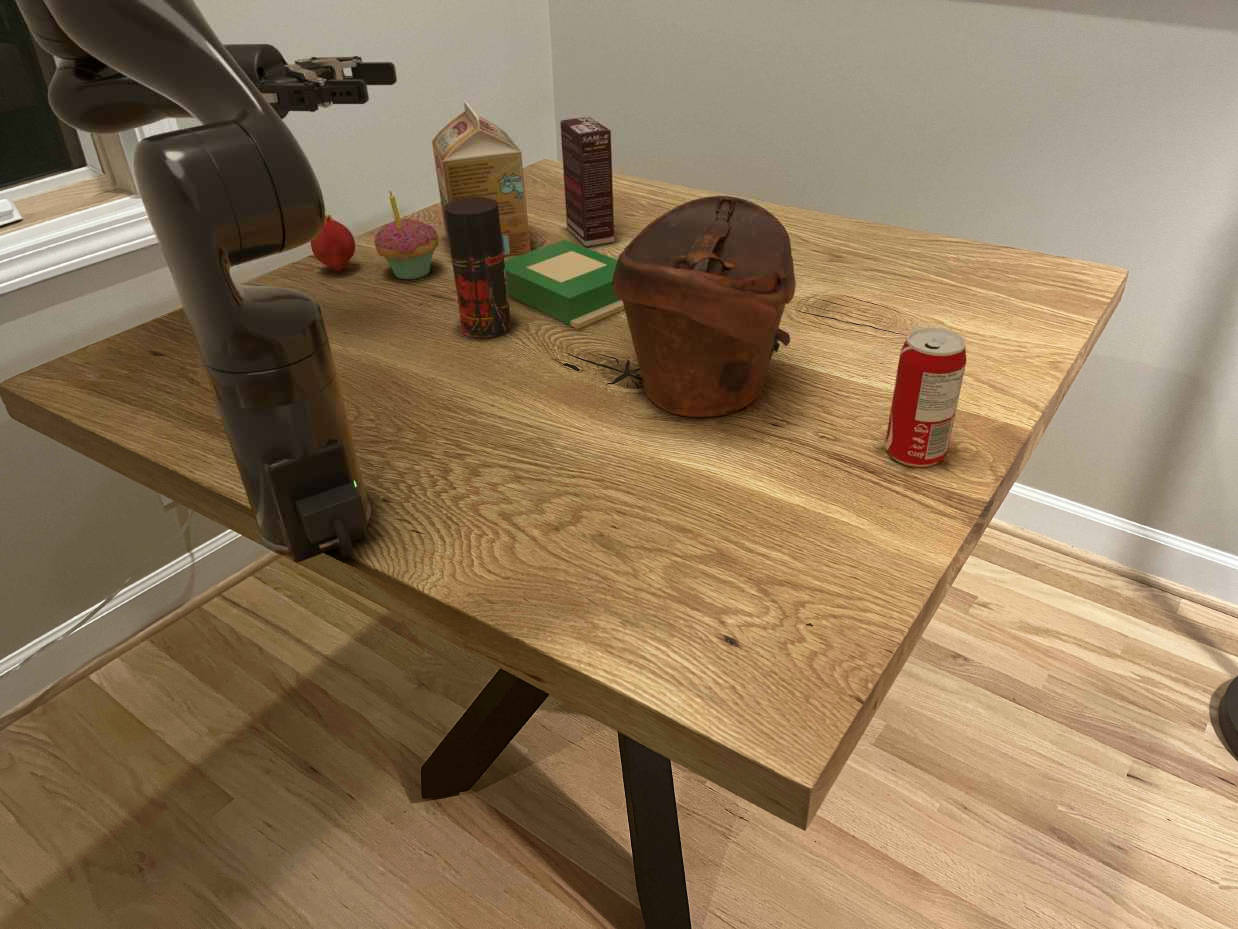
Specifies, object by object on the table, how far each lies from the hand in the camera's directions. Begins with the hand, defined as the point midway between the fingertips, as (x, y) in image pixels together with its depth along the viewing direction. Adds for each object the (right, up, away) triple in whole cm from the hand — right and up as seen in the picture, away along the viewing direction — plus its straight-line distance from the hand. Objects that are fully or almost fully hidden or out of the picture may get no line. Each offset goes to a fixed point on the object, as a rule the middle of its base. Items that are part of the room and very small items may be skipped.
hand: (381, 82), depth 94 cm
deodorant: (+9, -24, +15) cm, 29 cm away
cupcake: (-4, -14, +30) cm, 33 cm away
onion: (-14, -13, +32) cm, 37 cm away
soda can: (+53, -39, -10) cm, 66 cm away
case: (+34, -32, +1) cm, 47 cm away
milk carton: (+6, -8, +38) cm, 39 cm away
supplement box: (+21, -6, +40) cm, 45 cm away
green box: (+18, -18, +23) cm, 34 cm away
